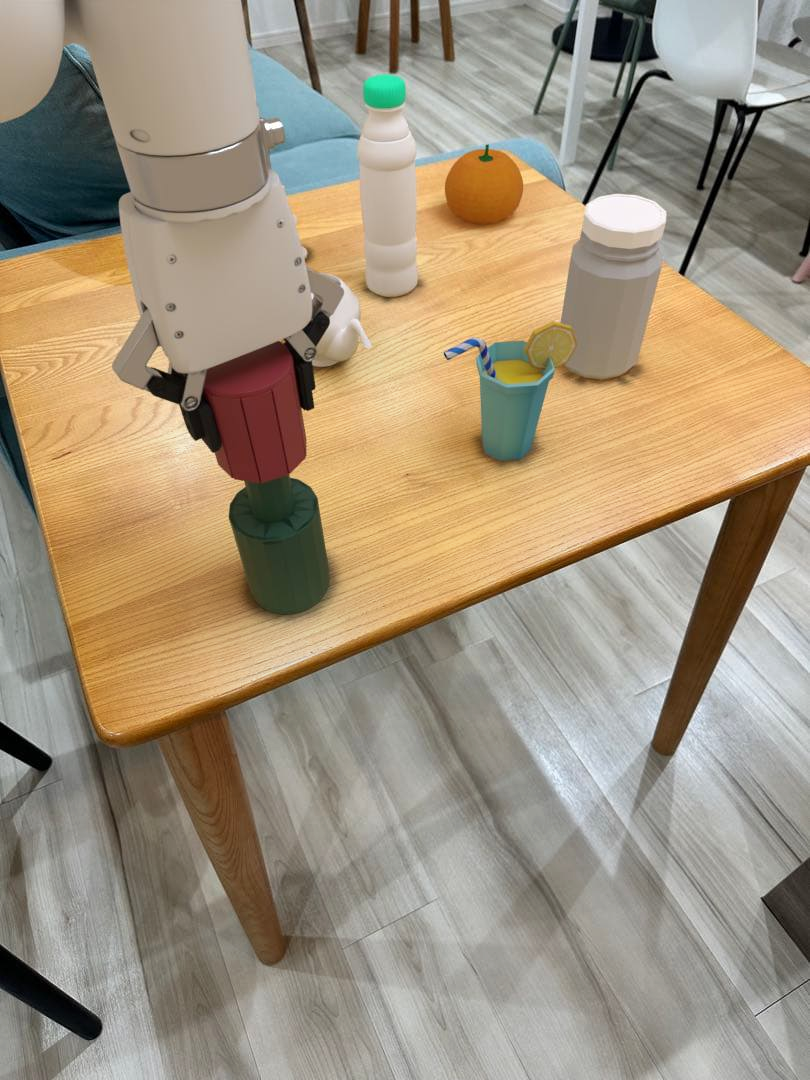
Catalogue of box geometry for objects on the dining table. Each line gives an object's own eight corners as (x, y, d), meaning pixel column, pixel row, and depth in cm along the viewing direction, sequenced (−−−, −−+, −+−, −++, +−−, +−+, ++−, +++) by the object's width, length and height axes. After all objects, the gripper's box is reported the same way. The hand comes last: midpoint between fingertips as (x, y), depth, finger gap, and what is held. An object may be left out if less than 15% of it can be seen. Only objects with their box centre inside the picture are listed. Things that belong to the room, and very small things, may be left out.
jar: (654, 366, 88) (696, 217, 74) (590, 394, 85) (621, 244, 71) (599, 327, 94) (629, 181, 80) (537, 352, 90) (557, 205, 77)
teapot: (339, 411, 84) (331, 340, 77) (249, 333, 94) (234, 265, 87) (405, 378, 88) (403, 307, 81) (312, 307, 98) (303, 239, 91)
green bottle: (248, 617, 66) (211, 499, 54) (252, 555, 70) (219, 434, 59) (330, 611, 66) (310, 492, 54) (329, 549, 70) (310, 428, 59)
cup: (461, 493, 75) (467, 370, 64) (424, 447, 80) (424, 325, 68) (574, 447, 79) (599, 324, 68) (533, 407, 84) (550, 285, 72)
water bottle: (427, 280, 102) (427, 74, 83) (399, 304, 98) (393, 94, 79) (384, 267, 104) (375, 64, 86) (356, 290, 101) (339, 83, 82)
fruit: (446, 195, 118) (448, 128, 111) (520, 197, 117) (527, 129, 110) (441, 231, 111) (442, 161, 103) (520, 233, 110) (527, 163, 102)
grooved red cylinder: (214, 486, 53) (187, 398, 47) (222, 424, 58) (197, 336, 52) (306, 479, 54) (290, 390, 48) (306, 418, 58) (292, 330, 52)
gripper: (302, 106, 45) (331, 353, 59) (15, 184, 39) (121, 440, 53) (369, 145, 41) (384, 401, 55) (60, 239, 35) (163, 502, 48)
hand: (255, 418), depth 53 cm, fingers closed on grooved red cylinder, 6 cm apart
